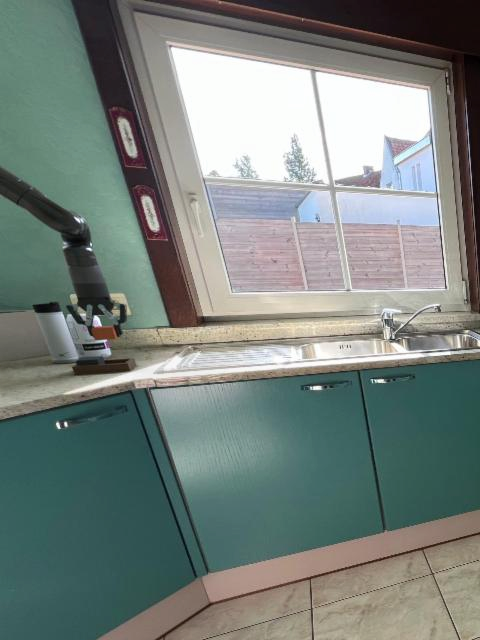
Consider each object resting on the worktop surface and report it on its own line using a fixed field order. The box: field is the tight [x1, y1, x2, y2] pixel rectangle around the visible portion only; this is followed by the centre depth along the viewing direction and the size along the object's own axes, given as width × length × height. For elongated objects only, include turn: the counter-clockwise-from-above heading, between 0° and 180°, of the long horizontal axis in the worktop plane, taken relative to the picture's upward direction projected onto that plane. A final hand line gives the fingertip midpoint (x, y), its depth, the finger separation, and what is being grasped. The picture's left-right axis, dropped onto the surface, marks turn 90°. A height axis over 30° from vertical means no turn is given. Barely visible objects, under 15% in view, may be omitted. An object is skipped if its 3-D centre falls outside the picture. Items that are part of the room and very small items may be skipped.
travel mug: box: [31, 301, 80, 365], centre depth 165 cm, size 6×7×20 cm
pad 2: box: [91, 325, 120, 341], centre depth 157 cm, size 5×6×4 cm
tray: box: [71, 357, 137, 376], centre depth 159 cm, size 13×9×3 cm
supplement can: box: [65, 312, 112, 359], centre depth 173 cm, size 8×8×15 cm
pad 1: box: [75, 356, 105, 366], centre depth 157 cm, size 5×6×4 cm
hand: (107, 336), depth 157 cm, fingers closed on pad 2, 5 cm apart
